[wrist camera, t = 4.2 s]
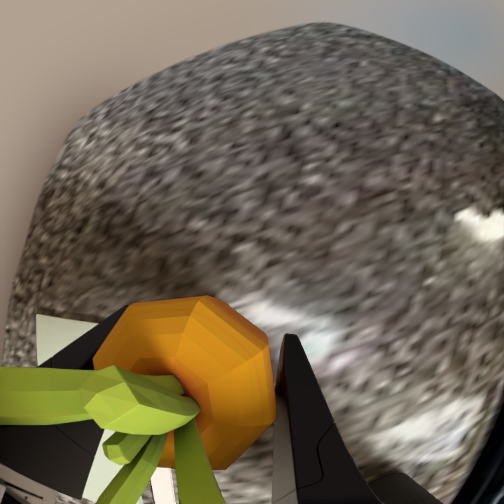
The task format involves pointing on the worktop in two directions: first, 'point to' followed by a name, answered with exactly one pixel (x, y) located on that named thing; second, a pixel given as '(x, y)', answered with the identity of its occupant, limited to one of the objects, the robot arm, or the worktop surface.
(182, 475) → the carrot
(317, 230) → the worktop surface
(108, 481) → the mat
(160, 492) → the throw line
